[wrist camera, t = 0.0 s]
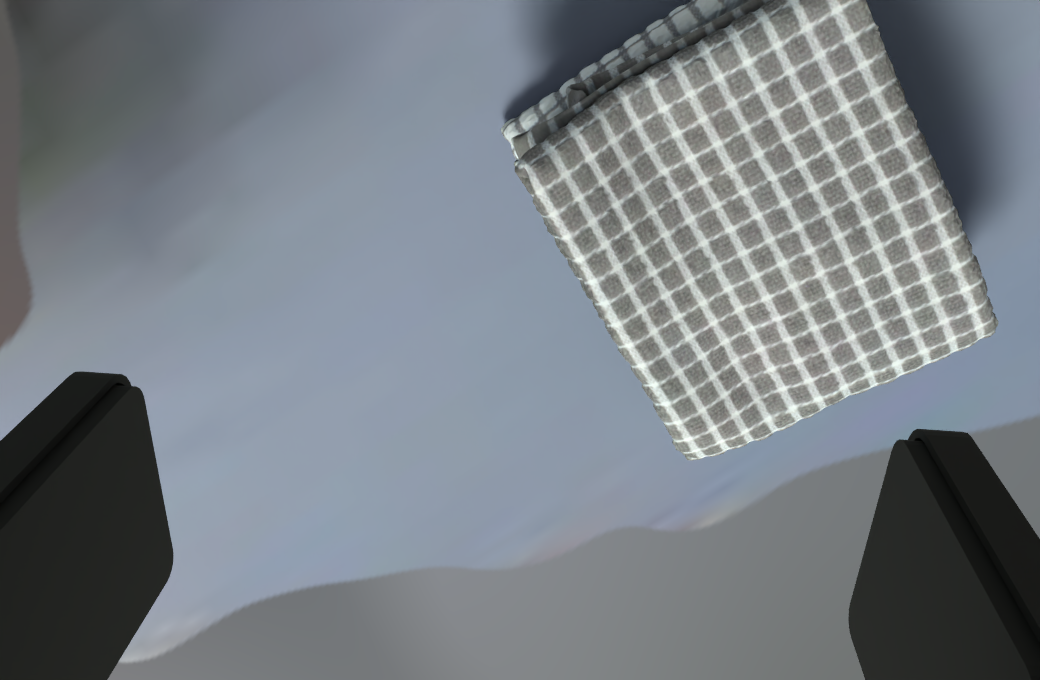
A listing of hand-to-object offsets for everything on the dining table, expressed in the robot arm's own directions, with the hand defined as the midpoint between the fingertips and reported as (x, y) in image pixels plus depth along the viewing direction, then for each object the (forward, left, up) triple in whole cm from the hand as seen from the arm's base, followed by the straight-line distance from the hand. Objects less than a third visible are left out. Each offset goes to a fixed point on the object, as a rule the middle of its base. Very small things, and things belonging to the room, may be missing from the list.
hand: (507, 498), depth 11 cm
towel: (+6, +8, -32) cm, 33 cm away
